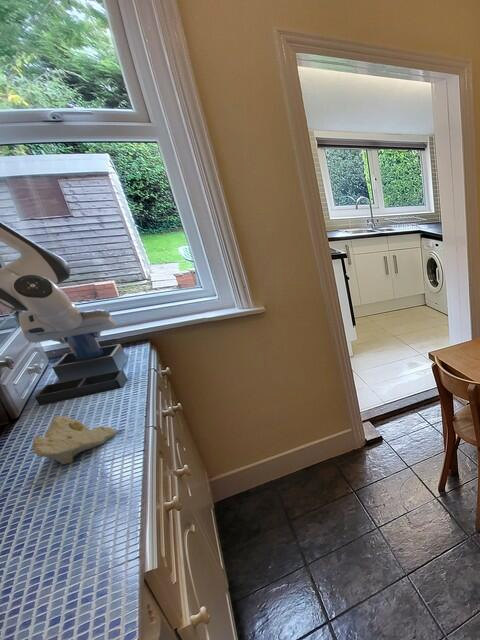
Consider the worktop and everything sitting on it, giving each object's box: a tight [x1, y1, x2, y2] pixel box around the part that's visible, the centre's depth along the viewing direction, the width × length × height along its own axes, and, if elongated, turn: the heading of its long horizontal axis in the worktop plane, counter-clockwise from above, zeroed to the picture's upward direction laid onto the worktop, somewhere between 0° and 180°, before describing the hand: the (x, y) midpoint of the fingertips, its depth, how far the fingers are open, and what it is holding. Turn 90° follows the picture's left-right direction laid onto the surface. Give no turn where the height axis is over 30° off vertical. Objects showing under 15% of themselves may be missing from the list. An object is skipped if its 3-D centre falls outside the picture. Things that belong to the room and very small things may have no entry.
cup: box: [65, 333, 103, 360], centre depth 135 cm, size 7×7×11 cm
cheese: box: [32, 415, 117, 465], centre depth 92 cm, size 15×7×15 cm
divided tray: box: [34, 369, 128, 407], centre depth 123 cm, size 18×9×4 cm, turn 123°
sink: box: [51, 343, 128, 382], centre depth 138 cm, size 14×14×6 cm
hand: (81, 338), depth 135 cm, fingers closed on cup, 7 cm apart
